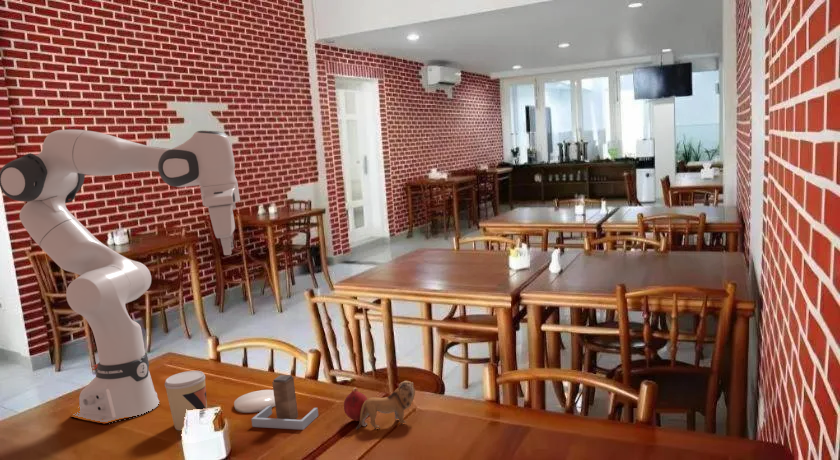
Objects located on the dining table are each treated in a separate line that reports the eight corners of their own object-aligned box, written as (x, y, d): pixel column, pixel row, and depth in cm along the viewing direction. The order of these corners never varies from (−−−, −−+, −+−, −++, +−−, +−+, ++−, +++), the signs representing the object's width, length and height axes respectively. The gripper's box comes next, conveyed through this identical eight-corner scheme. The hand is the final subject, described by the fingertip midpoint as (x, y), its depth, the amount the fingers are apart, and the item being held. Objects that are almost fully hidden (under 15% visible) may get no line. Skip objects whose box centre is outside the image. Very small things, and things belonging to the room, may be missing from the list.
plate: (225, 411, 161) (224, 407, 161) (251, 393, 172) (250, 389, 172) (266, 413, 157) (265, 409, 157) (290, 394, 168) (289, 390, 168)
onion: (366, 426, 144) (362, 393, 143) (342, 426, 145) (338, 393, 144) (373, 415, 150) (369, 383, 149) (350, 415, 151) (346, 383, 150)
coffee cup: (194, 433, 149) (187, 384, 148) (162, 431, 152) (155, 383, 151) (219, 416, 158) (212, 370, 157) (188, 414, 161) (181, 369, 160)
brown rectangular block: (277, 422, 151) (272, 380, 150) (285, 415, 155) (279, 374, 153) (290, 423, 150) (285, 380, 149) (298, 416, 154) (293, 375, 152)
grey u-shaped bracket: (252, 426, 150) (251, 418, 150) (269, 413, 157) (268, 405, 157) (303, 429, 146) (302, 421, 146) (318, 415, 153) (317, 407, 153)
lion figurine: (413, 412, 150) (409, 376, 149) (421, 420, 145) (417, 383, 144) (353, 427, 145) (349, 389, 144) (359, 436, 140) (355, 397, 139)
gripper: (210, 196, 164) (218, 248, 166) (203, 200, 144) (212, 259, 146) (235, 193, 165) (243, 245, 167) (232, 196, 146) (240, 255, 147)
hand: (229, 252), depth 156 cm, fingers open, 8 cm apart
